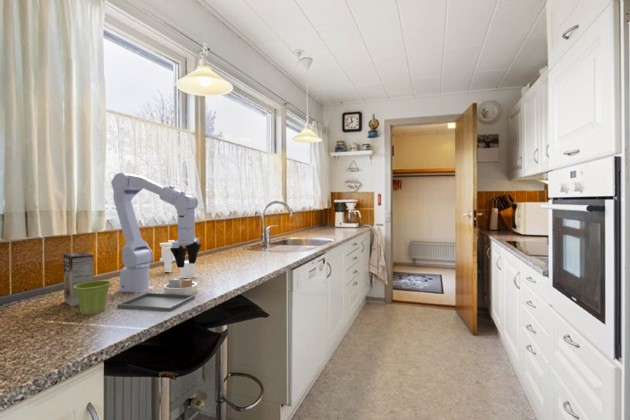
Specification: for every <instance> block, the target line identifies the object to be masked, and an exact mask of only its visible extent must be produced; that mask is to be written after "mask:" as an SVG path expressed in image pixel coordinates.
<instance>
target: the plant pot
mask: <svg viewBox="0 0 630 420" xmlns="http://www.w3.org/2000/svg"><path fill="white" fill-rule="evenodd" d="M111 284H112V282H111V281H110V280H102V279H101V280H93V281H89V282H84V283H80V284H77V285H74V286H73V287H74V289H75V290H76V293H77V295H78V300H79V309H80V314H82V315H94V314H99V313H102V312H104V311H106V309H107V299H108V291H109V289H110V285H111Z"/></svg>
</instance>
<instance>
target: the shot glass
mask: <svg viewBox="0 0 630 420" xmlns="http://www.w3.org/2000/svg"><path fill="white" fill-rule="evenodd" d="M196 265H197V261H196V262H195V264H191V263H189V260H185V264H184V267H183V268H180V267H179V270H180V277H181V278H180V279H183V278H188V279H193V277H194V278H195V274H196Z"/></svg>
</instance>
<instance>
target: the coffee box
mask: <svg viewBox="0 0 630 420" xmlns="http://www.w3.org/2000/svg"><path fill="white" fill-rule="evenodd" d="M89 281H94V254H91V253H88V252H84V251H83V252H67V253H63V297H64V303H66V304H67V305H68V306H69V307H71V308H72V307H75V306H77V305H79V300H78V295H77V293H76V290H75V289H74V287H73V286H74V285H77V284H80V283H84V282H89ZM79 306H80V305H79Z"/></svg>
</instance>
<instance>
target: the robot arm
mask: <svg viewBox="0 0 630 420" xmlns="http://www.w3.org/2000/svg"><path fill="white" fill-rule="evenodd" d="M110 183H111V187H112V191H113V197H112V198H113V202H114V206H115V209H116V213H117V216H118V219H119V223H120V227H121V230H122V233H123V238H124V241H125V245H124V246H123V247H122V248H121V254H122V258H121V261H122V263H123V266H124V267H122V269H121V270H120V272H119V290H118V292H125V293H144V292H147V291H148V290H151V289H153V288H155V286H150V266H151V262H153V260H154V252H153V251H152V249H151V247H150V245H149V243H147V241H145V240H144V239H143V237H142V235H141V231H140V228H139V227H140V226H139V225H138V220H137V216H136V214H135V210H134V207H133V203H132V200H133V199H134V197H136V196H137V195H138V194H139V193H140V192H141V191H142V190H143V189H144V190H147V191H149V192H152V193H154V194H156V195H159V199H160V200H161V201H164V202H165V203H168V204H170V205H172V206H173V207H174V208H175V210H176V214H177V240H176V241H175V242H172V247H171V246H170V247H171V248H170V250H171V252H172V253H173V255H174V257H175V260H176V261H175V264H176V267H177V268H179V269H180V268H183V267H184V264H185V261H186V256H187V259H188V260H189V263H191V264H195V262H196V263H197V256H198V253H199V251H200V249H201V248H202V243H200V237H196V235H195V234H196V232H195V231H196V230H195V229H196V227H195V225H196V223H195V219H196V218H195V216H196V215H195V212H196V211H195V210H196V209H197V207H198V203H199V202H198V199H197V197H196V196H194V194H186V191H184V190H178V189H177V188H176V187H175V186H174V185H165V186H162V185H161V184H159V183H157V182H155V181H153V180H151V179H149V178H148V177H146V176H144V175H140V174H130V173H124V172H118V173H116V174H115V175H114V176H113V178H112V180H111V181H110ZM186 254H187V255H186Z"/></svg>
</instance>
